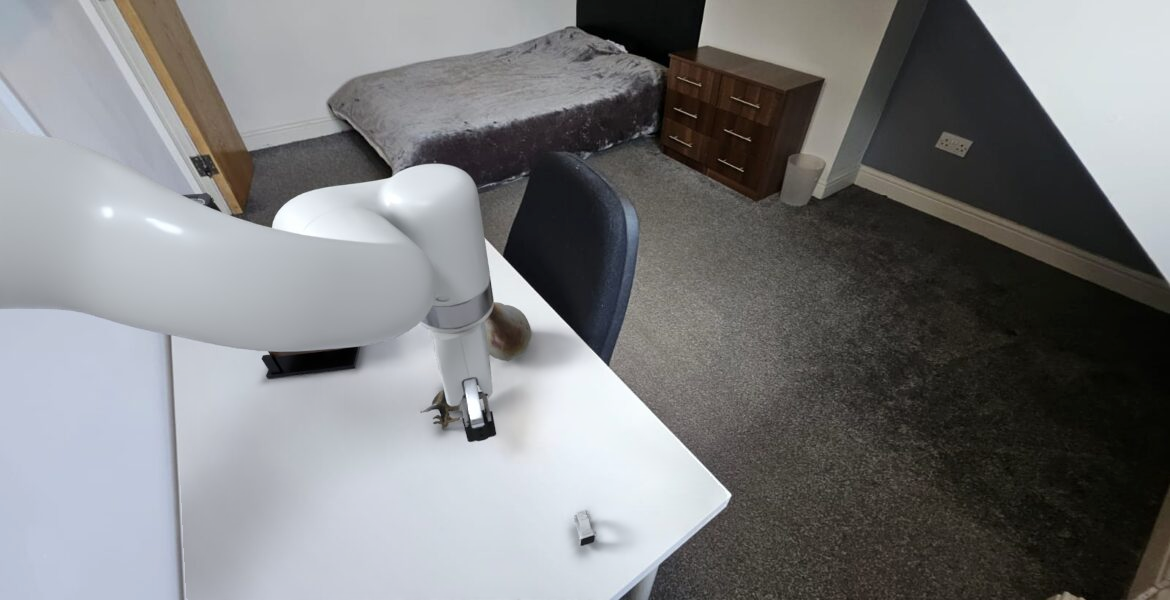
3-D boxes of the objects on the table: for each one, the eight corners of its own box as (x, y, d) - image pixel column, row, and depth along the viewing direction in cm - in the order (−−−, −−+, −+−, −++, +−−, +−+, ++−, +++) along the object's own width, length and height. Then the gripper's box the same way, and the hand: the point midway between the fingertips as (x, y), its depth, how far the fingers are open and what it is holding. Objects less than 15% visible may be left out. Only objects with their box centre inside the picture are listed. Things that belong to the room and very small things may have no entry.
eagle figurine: (478, 429, 72) (488, 376, 77) (444, 410, 67) (457, 356, 73) (442, 437, 75) (454, 387, 81) (408, 420, 70) (423, 368, 76)
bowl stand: (267, 379, 79) (255, 360, 76) (289, 326, 89) (279, 308, 86) (355, 368, 81) (347, 350, 78) (367, 318, 91) (360, 300, 88)
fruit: (468, 345, 86) (458, 295, 78) (511, 322, 91) (505, 273, 83) (500, 378, 81) (492, 328, 73) (543, 352, 85) (540, 302, 78)
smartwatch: (571, 522, 62) (572, 508, 60) (587, 517, 63) (588, 504, 60) (579, 550, 60) (580, 537, 57) (595, 544, 60) (597, 532, 58)
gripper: (409, 251, 50) (438, 357, 62) (416, 370, 38) (451, 476, 49) (479, 240, 52) (495, 346, 63) (507, 351, 40) (521, 457, 51)
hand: (476, 402), depth 56 cm, fingers open, 9 cm apart
